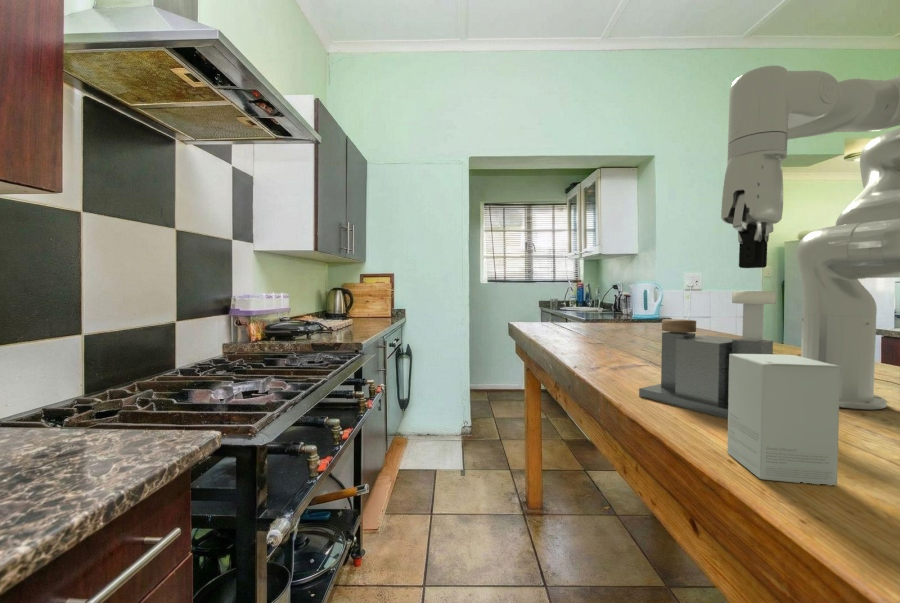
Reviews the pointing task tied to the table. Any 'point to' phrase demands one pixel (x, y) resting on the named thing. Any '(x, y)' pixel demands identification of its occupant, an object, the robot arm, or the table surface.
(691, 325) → the walnut plunger
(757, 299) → the cream plunger
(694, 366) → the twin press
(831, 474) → the supplement box
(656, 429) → the table surface
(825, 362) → the robot arm
